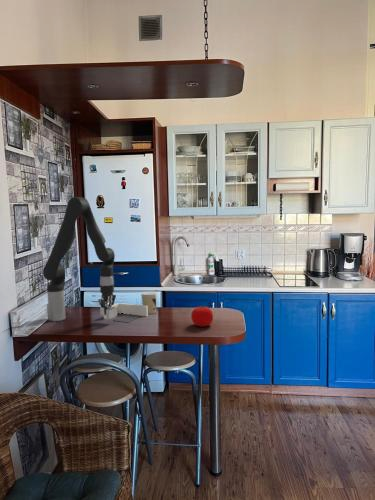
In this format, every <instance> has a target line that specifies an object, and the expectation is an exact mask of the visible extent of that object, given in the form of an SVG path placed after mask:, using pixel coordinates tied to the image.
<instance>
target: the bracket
mask: <svg viewBox="0 0 375 500" xmlns="http://www.w3.org/2000/svg"><path fill="white" fill-rule="evenodd" d="M99 308H100V309H99V311H100V313H99V314H100V316H103V317H104V316H106V319H105V320H111V319H113V318H116V317H118V314H117V307H110V306H108V309H107V310H106V315H105V314H104V308H102V307H101V305H100V306H99Z"/></svg>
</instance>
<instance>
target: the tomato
mask: <svg viewBox="0 0 375 500" xmlns="http://www.w3.org/2000/svg"><path fill="white" fill-rule="evenodd" d="M190 315H191V320H192V323H193V324H194V325H195V326H197V327H201V328H202V327H203V328H204V327H208V326H210V325H212V322H213V321H214V314H213V311H212V309H211V308H209V307H208V306H203V305H202V306H197V307H195V308H193V310H192V311H191V314H190Z"/></svg>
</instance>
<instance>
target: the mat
mask: <svg viewBox="0 0 375 500" xmlns="http://www.w3.org/2000/svg"><path fill="white" fill-rule="evenodd" d="M138 318H140V316H139V315H130V314H124V315H123V316H120V317H118V318H116V319H114V320H113V321H114V322H119V323H127V324H128V323H130V322H133V321H135V320H138Z"/></svg>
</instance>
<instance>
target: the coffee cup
mask: <svg viewBox="0 0 375 500" xmlns="http://www.w3.org/2000/svg"><path fill="white" fill-rule="evenodd" d="M140 296H141V301H142V302H141V303H142V304H141V305H144V306H148V315H152V314H155V313H157V292H155V291H144V292H142V293H141V295H140Z"/></svg>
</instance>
